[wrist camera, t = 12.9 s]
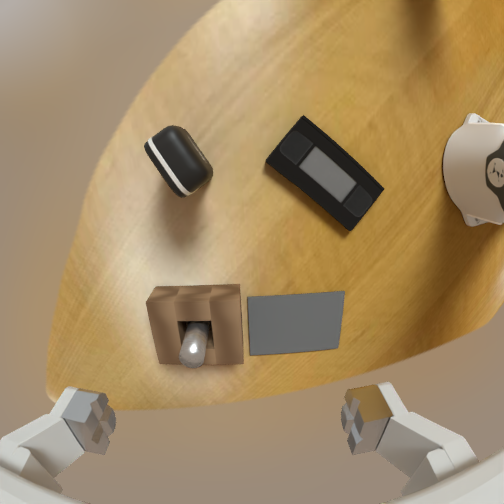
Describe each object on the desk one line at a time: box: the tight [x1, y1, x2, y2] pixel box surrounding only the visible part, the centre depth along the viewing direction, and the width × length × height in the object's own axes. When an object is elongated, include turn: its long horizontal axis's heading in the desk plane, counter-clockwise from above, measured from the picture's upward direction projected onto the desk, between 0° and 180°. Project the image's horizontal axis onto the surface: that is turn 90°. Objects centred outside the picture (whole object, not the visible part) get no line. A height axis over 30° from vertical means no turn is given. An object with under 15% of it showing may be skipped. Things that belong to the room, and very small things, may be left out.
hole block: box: [146, 284, 244, 365], centre depth 40 cm, size 12×10×5 cm
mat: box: [248, 291, 345, 355], centre depth 43 cm, size 14×10×1 cm
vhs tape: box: [266, 115, 384, 231], centre depth 36 cm, size 8×14×2 cm, turn 52°
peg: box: [179, 321, 211, 368], centre depth 38 cm, size 3×3×10 cm
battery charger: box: [144, 125, 213, 197], centre depth 30 cm, size 7×4×11 cm, turn 33°
